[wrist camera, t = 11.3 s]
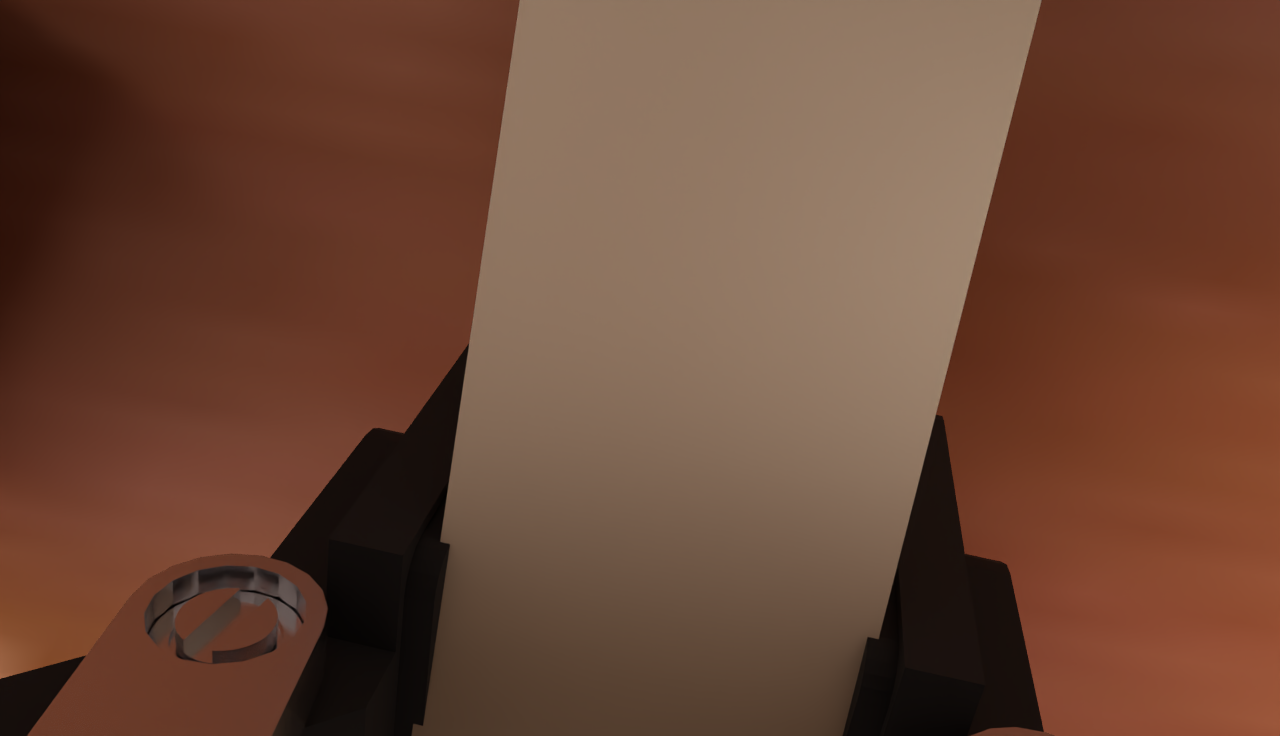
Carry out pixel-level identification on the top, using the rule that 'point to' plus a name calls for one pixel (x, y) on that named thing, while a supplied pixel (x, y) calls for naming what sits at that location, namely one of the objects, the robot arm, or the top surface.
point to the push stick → (709, 355)
